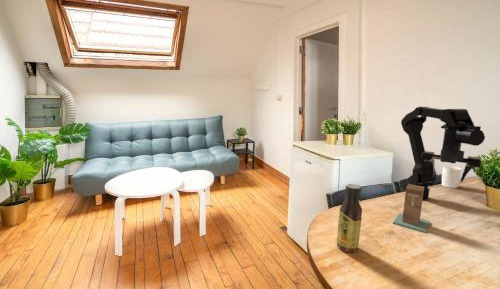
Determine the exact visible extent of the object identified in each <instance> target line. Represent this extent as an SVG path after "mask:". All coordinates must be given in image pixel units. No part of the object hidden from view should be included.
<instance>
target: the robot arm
mask: <svg viewBox="0 0 500 289" xmlns="http://www.w3.org/2000/svg"><path fill="white" fill-rule="evenodd" d="M427 118H431V119H432V118H433V119H439V121H441V122H442V123H444V124H443V125H441V126H440V128H441V129H444V132H443V140H442V148H441V150H440V154H435V152H434V151H427V150H425V146H424V141H423V138H422V134H421V133H422V130H423V128H424V124H425V123H426V122H427ZM400 123H401V127H402V130H403V131H404V133H406V134H407V135H408V139H409V144H410V148H411V153H412V157H413V162H414V166H413V168H412V170H411V171H412V174H411V175H410V176H409V177H407V183H408V184H410V185H416V186H421V187H424V192H423V199H422V201H427V199H429V196H430V192H431V191H430V190H431V189H430V188H429V186H430V187H432V186H433V187H434V184H435V182H436V180H437V171H436V168H435V167H436V166H435V160H440V162H442V163H449V164H456V163H461V164H462V163H463V164H465V167H464V170H463V172H462V174H461V177H460V183H463V181H464V180H465V178H466V176H467V175H468V173H469V172H471V170H472V169H473V170H474V169H476V168H481V166H482V158H481V157H478V156H470V155H469V156H468V157H467V158H466V157H465V150H461V148H462V144H464V145H470V146H480V145H482V144H483V142H484V141H485V138H486V135H485V133H484V132H483V130H481V129H482V128H481V126H475V123H474V121H473V119H472V118H471V115H470V114H469V110H468V109H466V108H446V109H442V108H433V107H429V106H417V107H415V109H414V110H412V111H411V112H408V113H406V114H405V115H404V117H402V119H401V121H400Z"/></svg>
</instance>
